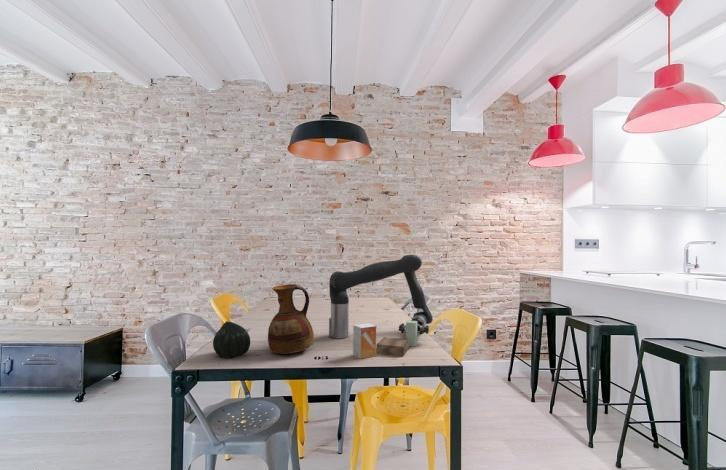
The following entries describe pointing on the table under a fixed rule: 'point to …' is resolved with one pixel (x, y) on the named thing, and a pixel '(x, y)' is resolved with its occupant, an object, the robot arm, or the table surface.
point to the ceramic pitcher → (290, 323)
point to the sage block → (411, 332)
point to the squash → (231, 340)
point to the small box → (364, 340)
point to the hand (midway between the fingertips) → (411, 331)
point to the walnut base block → (393, 346)
